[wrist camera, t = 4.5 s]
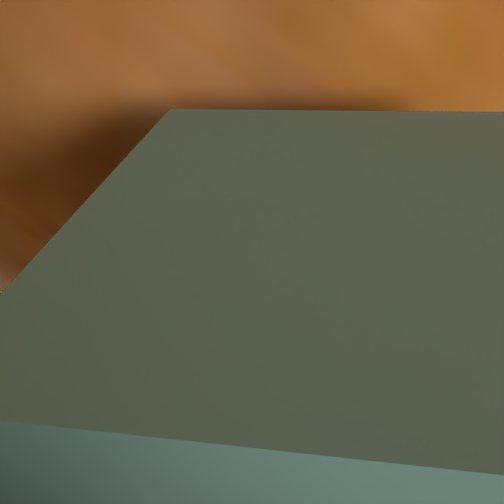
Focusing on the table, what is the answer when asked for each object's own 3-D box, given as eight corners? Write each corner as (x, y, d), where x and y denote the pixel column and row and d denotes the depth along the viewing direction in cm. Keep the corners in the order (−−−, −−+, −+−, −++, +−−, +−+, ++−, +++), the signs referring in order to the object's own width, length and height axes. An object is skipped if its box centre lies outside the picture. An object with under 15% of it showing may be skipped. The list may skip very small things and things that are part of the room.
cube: (430, 347, 10) (535, 694, 5) (203, 330, 11) (118, 625, 6) (520, 112, 7) (1077, 538, 2) (169, 108, 7) (-106, 409, 2)
